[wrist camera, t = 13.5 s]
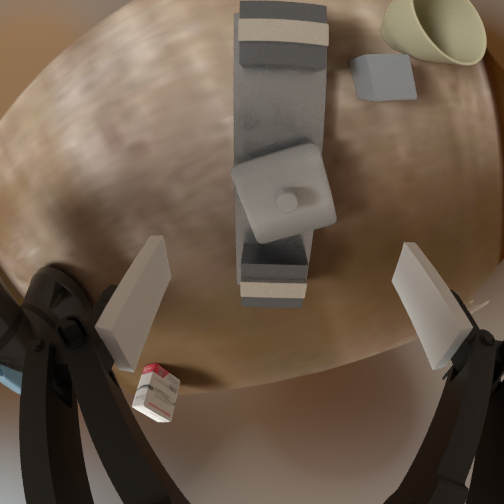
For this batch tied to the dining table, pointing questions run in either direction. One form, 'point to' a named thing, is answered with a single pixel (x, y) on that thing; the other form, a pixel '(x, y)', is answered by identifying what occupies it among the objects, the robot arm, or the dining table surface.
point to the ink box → (156, 393)
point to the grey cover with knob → (285, 192)
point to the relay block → (383, 77)
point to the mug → (435, 30)
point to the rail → (276, 130)
